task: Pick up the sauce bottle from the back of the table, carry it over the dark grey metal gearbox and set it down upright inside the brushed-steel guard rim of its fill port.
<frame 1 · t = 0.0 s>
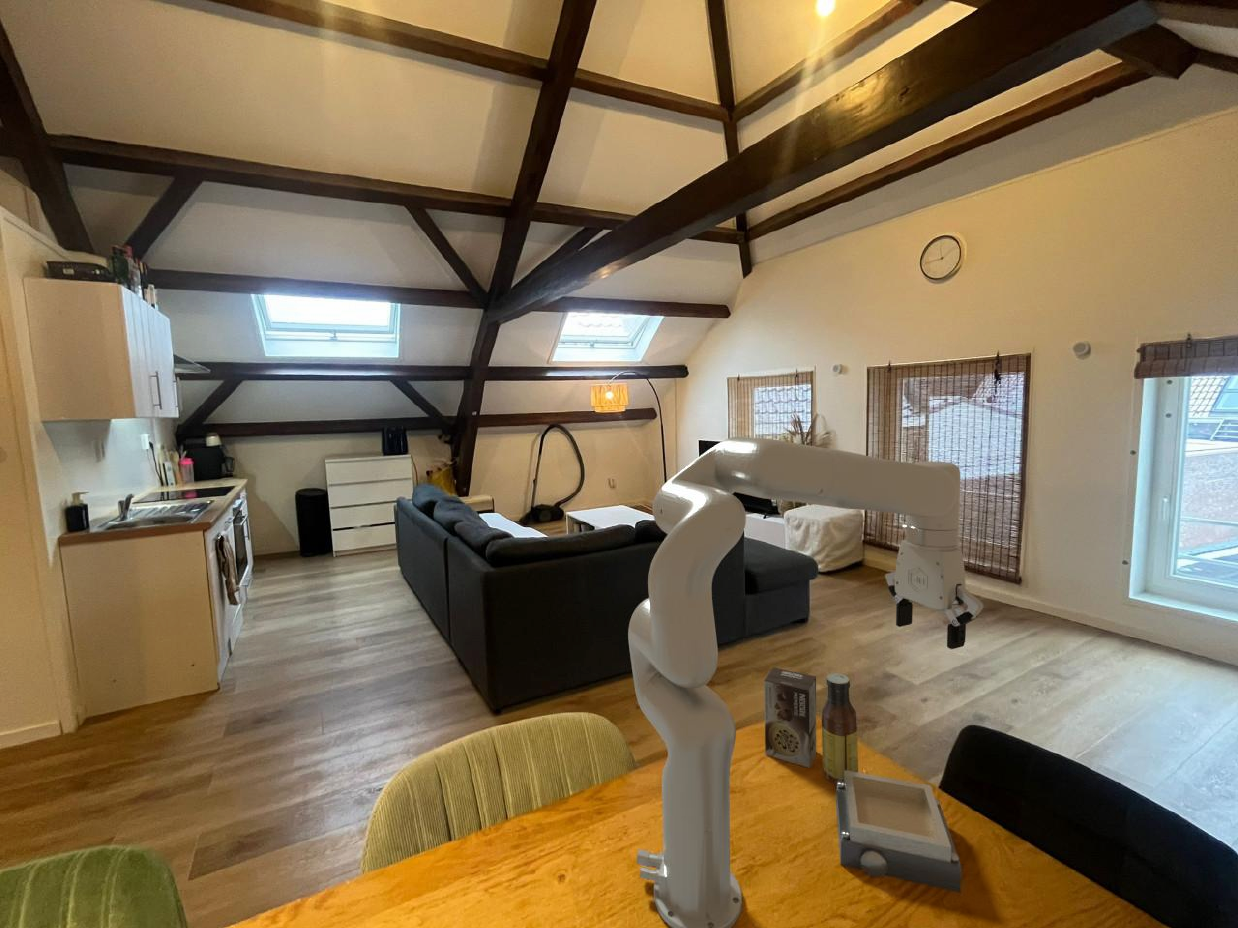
hand: (928, 635, 91), 31 cm above the table, tool pointing down, fingers open, 9 cm apart
sauce bottle: (839, 778, 102), on the table
coffee box: (790, 753, 110), on the table
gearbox: (891, 842, 87), on the table
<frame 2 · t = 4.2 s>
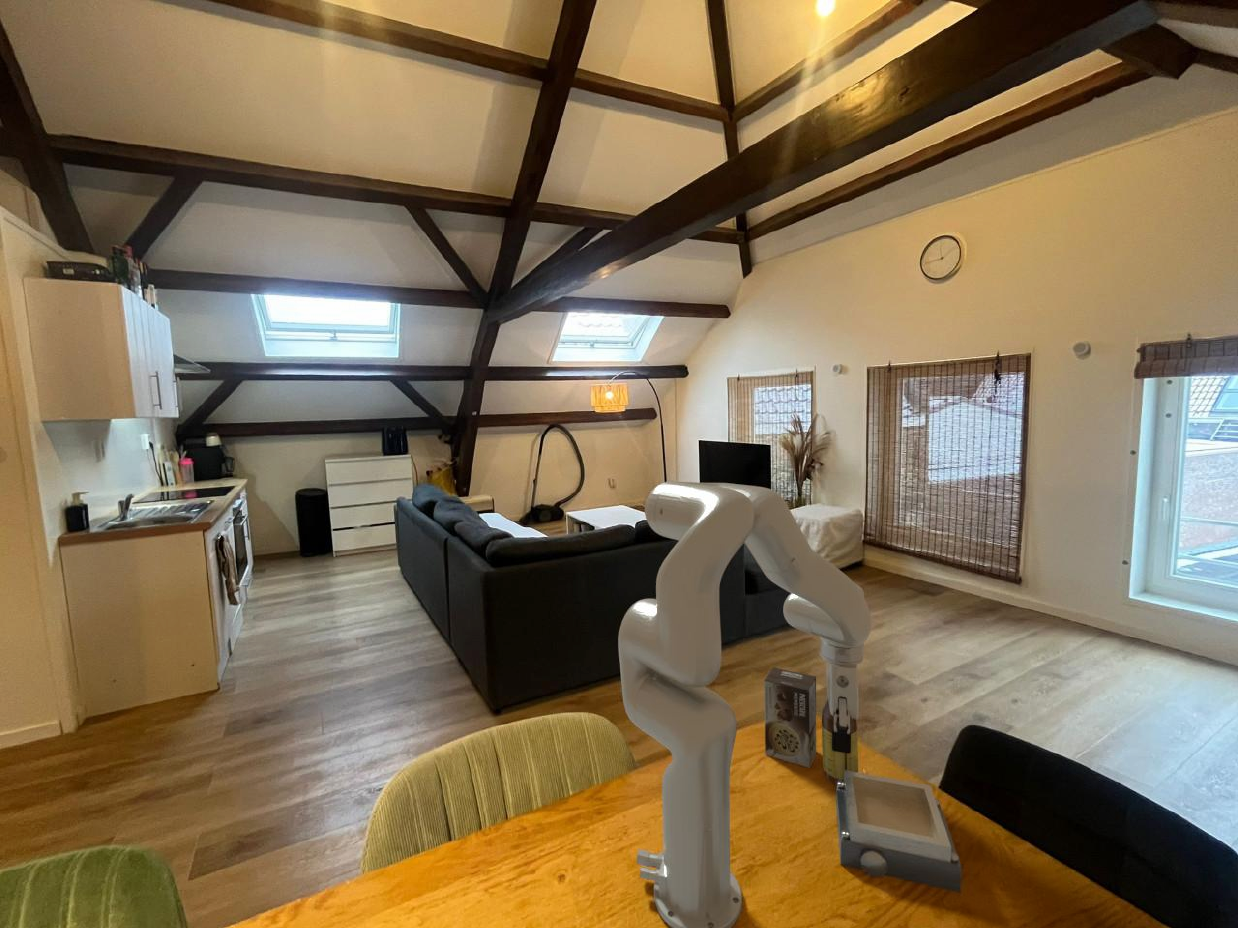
hand: (840, 739, 101), 8 cm above the table, tool pointing down, fingers closed on sauce bottle, 6 cm apart
sauce bottle: (839, 778, 102), on the table, touching gripper
everything else where it was.
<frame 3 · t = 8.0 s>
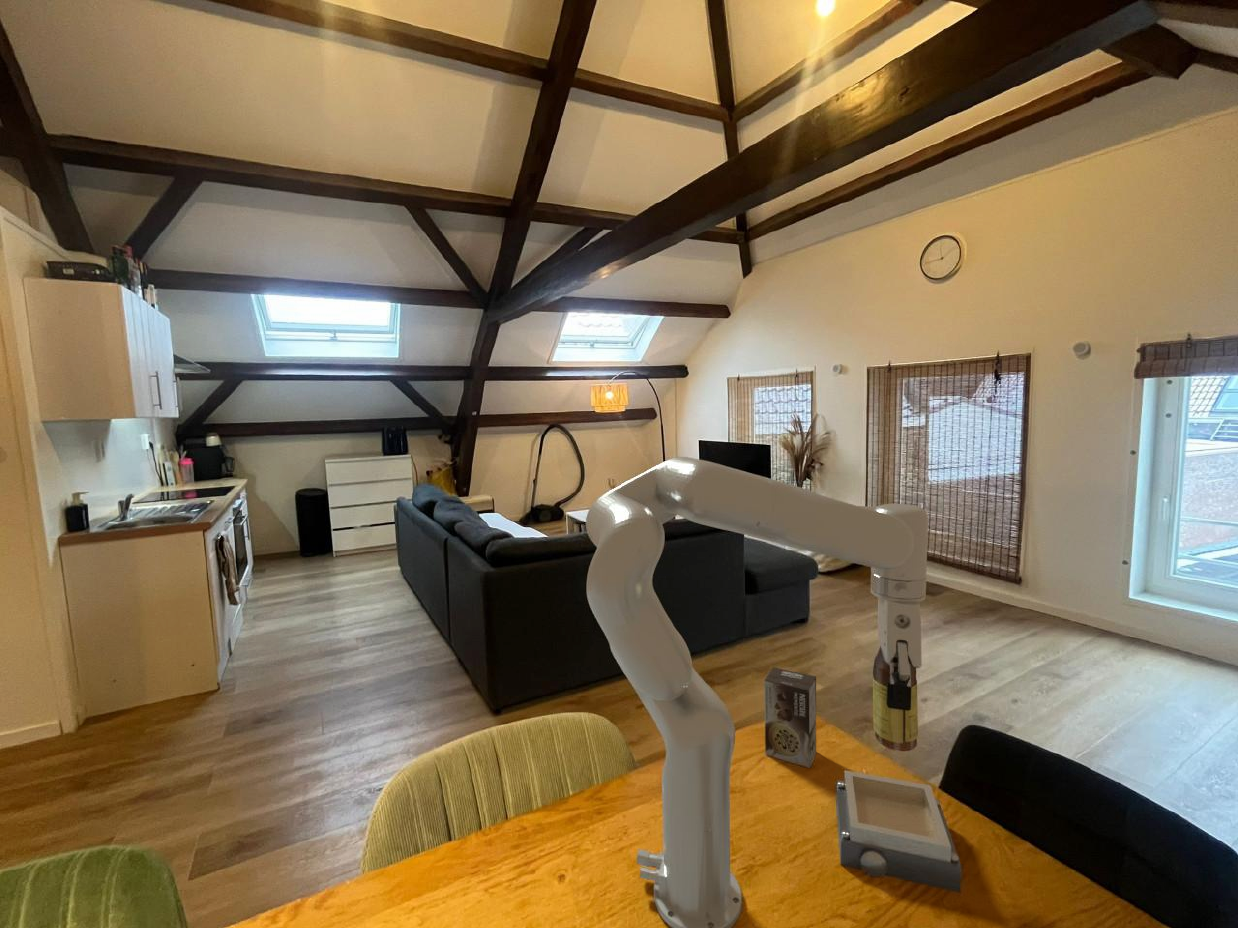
hand: (894, 695, 84), 25 cm above the table, tool pointing down, fingers closed on sauce bottle, 6 cm apart
sauce bottle: (893, 742, 85), point 17 cm above the table, touching gripper
everything else where it was.
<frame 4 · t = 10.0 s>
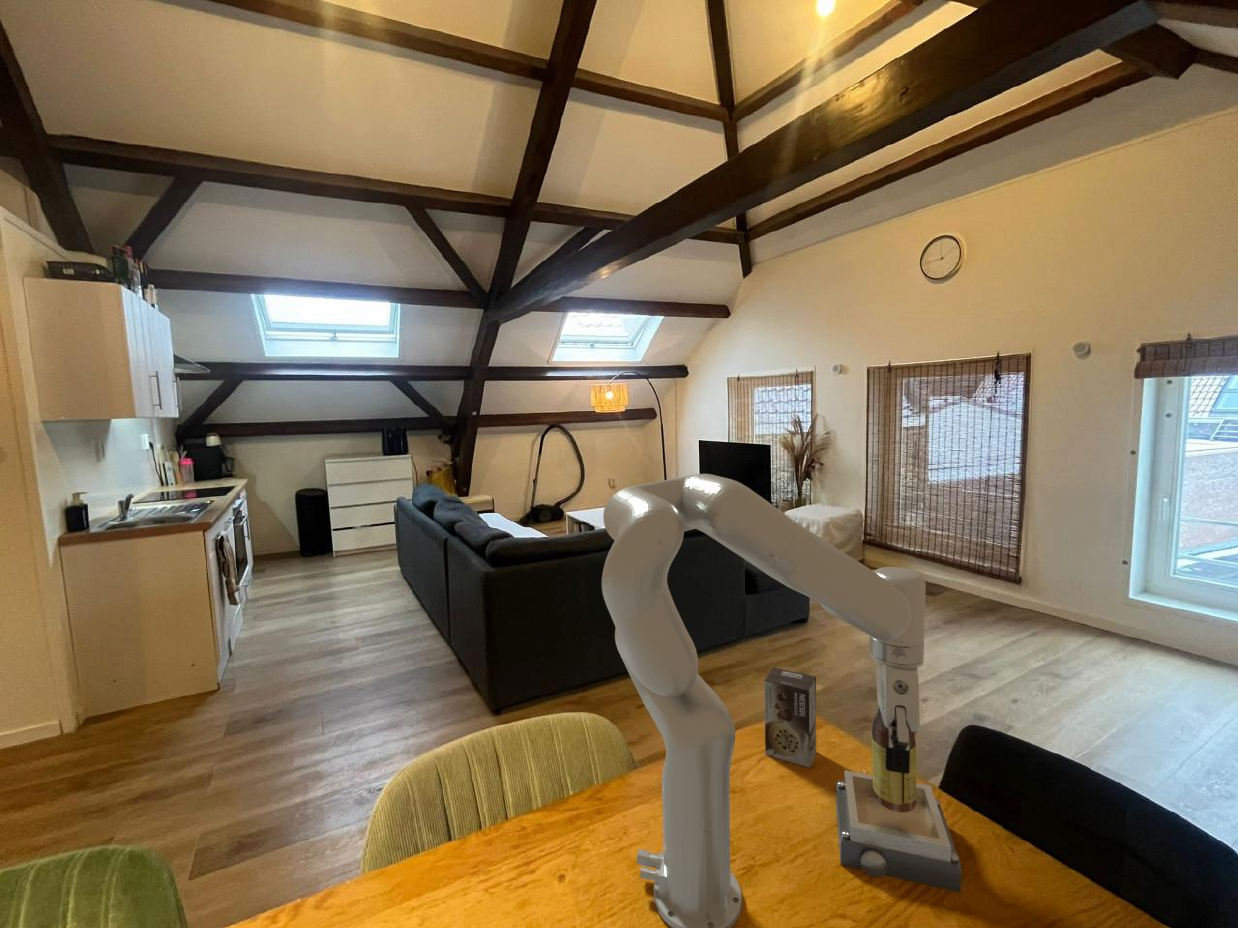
hand: (893, 755, 85), 15 cm above the table, tool pointing down, fingers closed on sauce bottle, 6 cm apart
sauce bottle: (893, 801, 86), point 7 cm above the table, touching gripper
everything else where it was.
when the fingers open (13 cm above the table, at t = 11.5 s): sauce bottle drops 1 cm, resting on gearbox.
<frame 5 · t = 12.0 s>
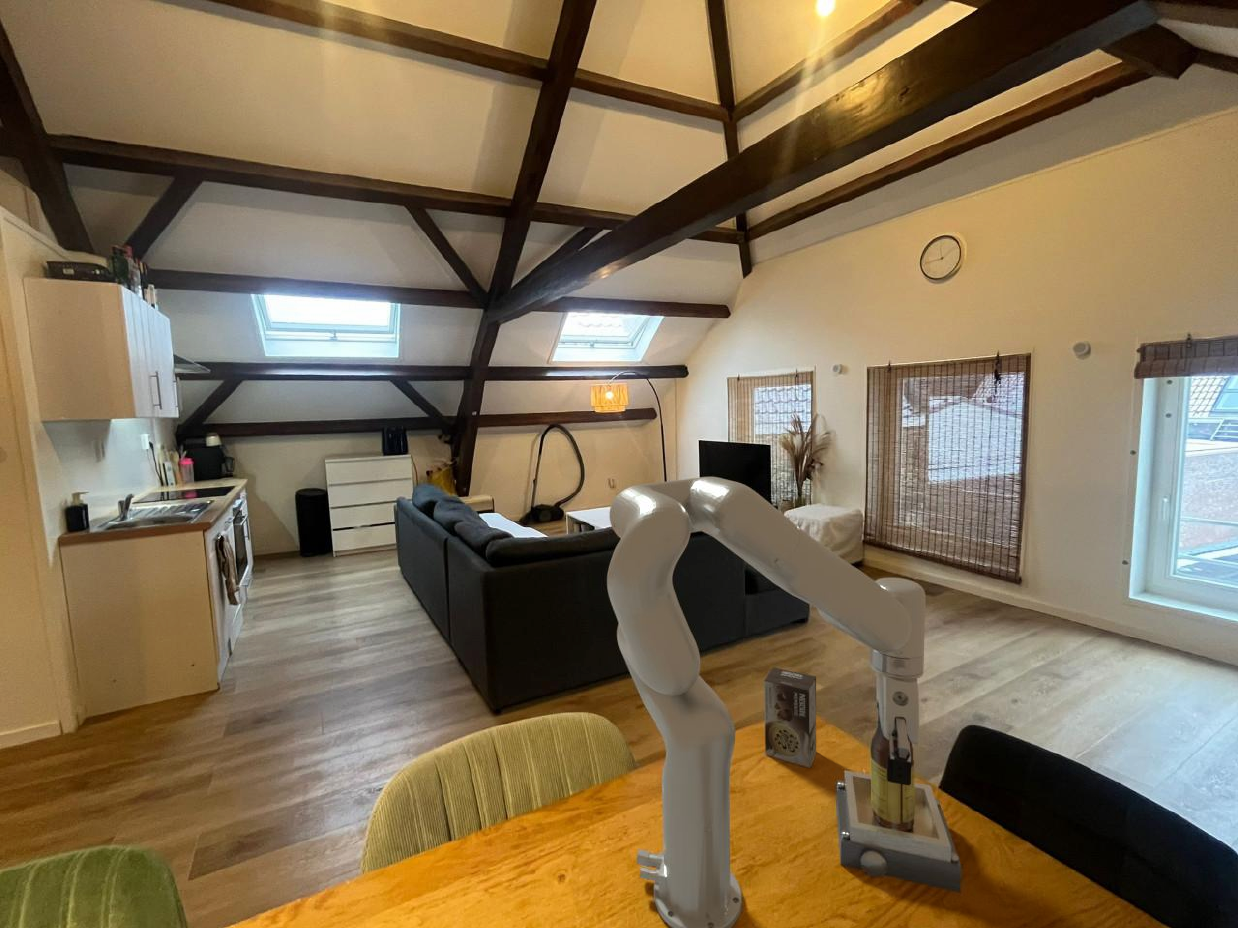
hand: (893, 762, 85), 14 cm above the table, tool pointing down, fingers open, 9 cm apart
sauce bottle: (891, 820, 86), point 4 cm above the table, touching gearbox
everything else where it was.
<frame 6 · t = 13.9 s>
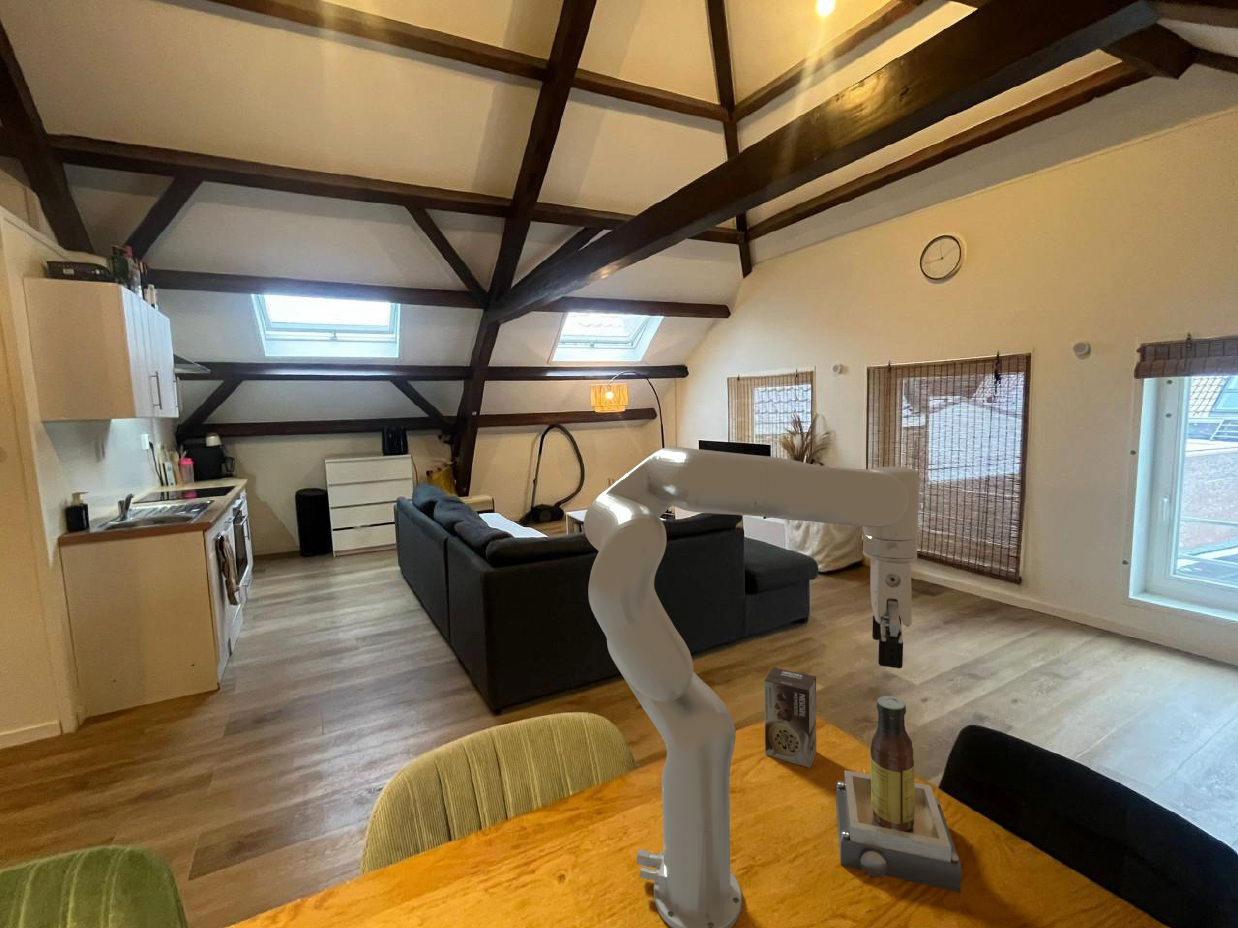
hand: (886, 652, 85), 31 cm above the table, tool pointing down, fingers open, 9 cm apart
nothing on the table moved.
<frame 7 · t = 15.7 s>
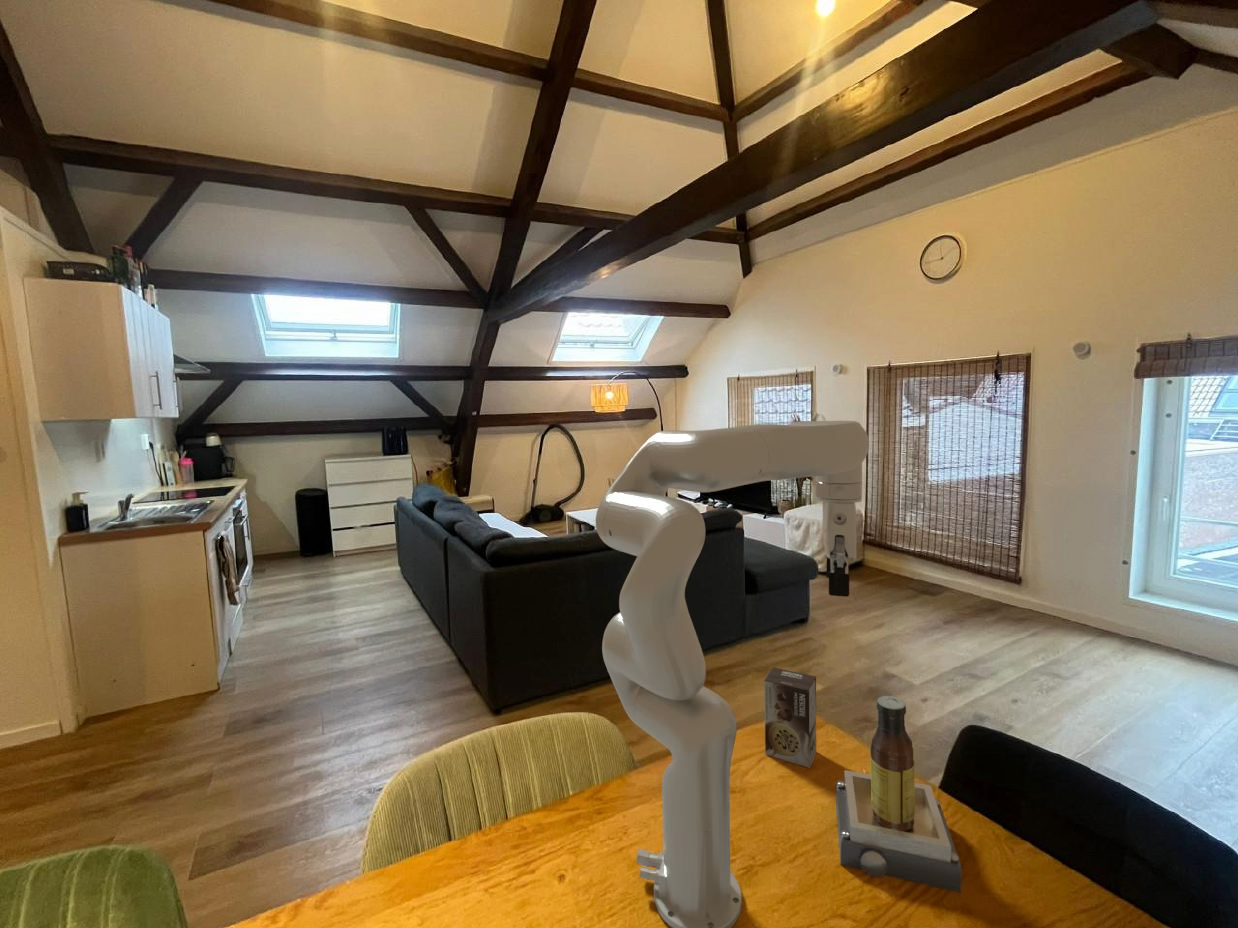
hand: (837, 586, 96), 38 cm above the table, tool pointing down, fingers open, 9 cm apart
nothing on the table moved.
at the end: sauce bottle 0.2 cm off-centre on the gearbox, point 4.0 cm above the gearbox's base; sauce bottle tilted 0°; the gripper is holding nothing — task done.
